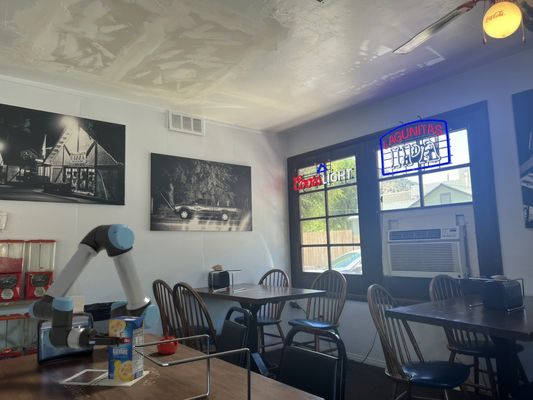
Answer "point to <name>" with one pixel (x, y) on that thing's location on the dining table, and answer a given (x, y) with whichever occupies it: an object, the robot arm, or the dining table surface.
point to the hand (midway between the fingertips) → (139, 339)
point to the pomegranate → (167, 346)
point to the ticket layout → (104, 380)
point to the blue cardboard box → (126, 348)
